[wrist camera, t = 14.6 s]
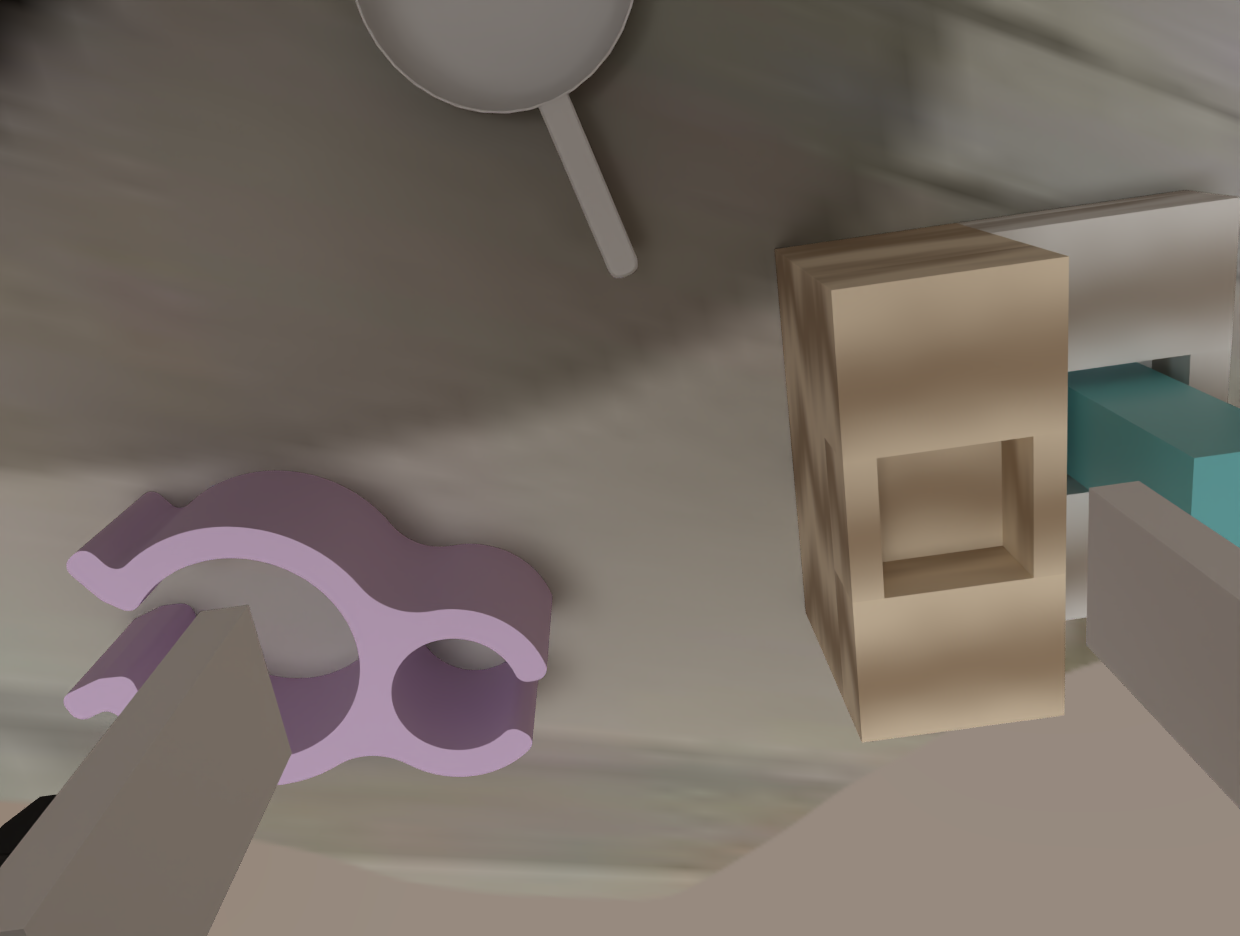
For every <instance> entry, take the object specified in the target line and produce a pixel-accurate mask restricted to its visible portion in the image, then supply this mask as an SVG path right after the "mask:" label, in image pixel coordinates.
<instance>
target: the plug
mask: <svg viewBox="0 0 1240 936" xmlns="http://www.w3.org/2000/svg"><path fill="white" fill-rule="evenodd" d="M1067 474H1068V475H1070V476H1071V477H1072V478H1074V479H1075V480H1076V481H1078V482H1079V483H1080V484H1082V485H1083V486H1084V487H1085V488H1087V489H1088V490H1089V488H1091V487H1098V486H1105V485H1112V484H1120V483H1127V482H1134V481H1140V482H1141V483H1143V484H1144V485H1146V486H1147V487H1149V488H1150V489H1152V490H1153V491H1155V492H1156V493H1158V494H1159V495H1161V496H1162V497H1164V498H1165V499H1167V500H1168V501H1170V502H1171V503H1173V504H1174V505H1176V506H1177V507H1179V508H1180V509H1182V510H1183V511H1185V512H1186V513H1188V514H1189V515H1191V516H1192V517H1194V518H1195V519H1197V520H1198V521H1200V522H1201V523H1203V524H1204V525H1206V526H1207V527H1209V528H1210V529H1212V530H1213V531H1215V532H1216V533H1218V534H1219V535H1221V536H1222V537H1224V538H1225V539H1227V540H1228V541H1230V542H1231V543H1233V544H1234V545H1236V546H1237V547H1239V548H1240V409H1239V408H1237V407H1235V406H1233V405H1231V404H1228V403H1226V402H1224V401H1222V400H1220V399H1217V398H1215V397H1213V396H1211V395H1209V394H1206V393H1204V392H1202V391H1200V390H1197V389H1195V388H1193V387H1191V386H1189V385H1186V384H1184V383H1182V382H1180V381H1178V380H1175V379H1173V378H1171V377H1169V376H1167V375H1164V374H1162V373H1160V372H1158V371H1156V370H1153V369H1151V368H1149V367H1147V366H1144V365H1142V364H1140V363H1138V362H1133V363H1126V364H1119V365H1112V366H1105V367H1098V368H1091V369H1084V370H1077V371H1070V372H1068V409H1067Z"/></svg>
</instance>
